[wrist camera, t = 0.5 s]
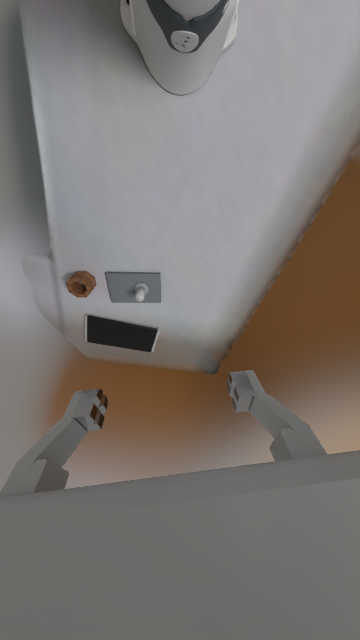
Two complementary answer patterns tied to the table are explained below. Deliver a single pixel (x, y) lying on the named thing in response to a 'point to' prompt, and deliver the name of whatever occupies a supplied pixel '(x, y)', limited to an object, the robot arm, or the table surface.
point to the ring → (76, 287)
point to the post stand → (134, 287)
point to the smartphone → (120, 333)
